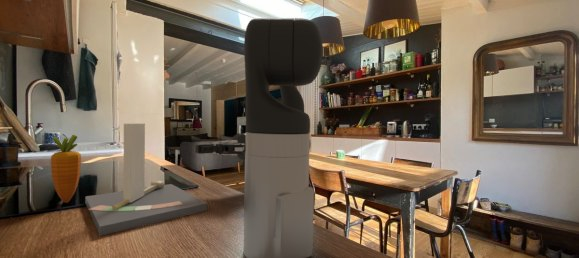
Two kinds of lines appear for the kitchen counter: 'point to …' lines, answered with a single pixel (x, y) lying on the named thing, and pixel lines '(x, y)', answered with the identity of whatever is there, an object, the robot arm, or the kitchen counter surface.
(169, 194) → the gauge dial plate
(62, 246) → the kitchen counter surface
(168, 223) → the kitchen counter surface
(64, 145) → the carrot
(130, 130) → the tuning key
